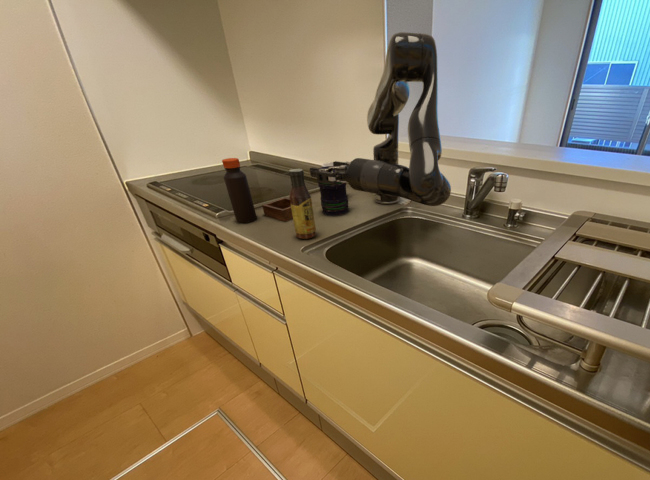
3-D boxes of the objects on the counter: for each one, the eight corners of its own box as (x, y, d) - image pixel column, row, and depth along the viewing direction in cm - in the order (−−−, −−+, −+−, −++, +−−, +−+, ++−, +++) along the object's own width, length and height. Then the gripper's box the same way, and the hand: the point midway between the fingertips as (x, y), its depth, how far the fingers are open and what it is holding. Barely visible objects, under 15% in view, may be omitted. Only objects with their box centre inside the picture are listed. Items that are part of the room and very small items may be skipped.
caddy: (287, 207, 130) (285, 197, 128) (307, 212, 125) (305, 202, 123) (264, 215, 123) (262, 205, 121) (285, 221, 118) (282, 210, 115)
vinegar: (260, 219, 119) (245, 159, 108) (241, 224, 115) (223, 162, 104) (251, 215, 123) (236, 156, 112) (233, 220, 119) (215, 159, 108)
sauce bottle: (311, 240, 104) (300, 173, 93) (293, 239, 105) (279, 172, 94) (320, 232, 109) (310, 167, 98) (302, 231, 110) (290, 167, 99)
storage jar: (348, 215, 122) (344, 172, 113) (320, 216, 121) (314, 173, 113) (349, 206, 130) (345, 165, 122) (323, 207, 129) (318, 166, 121)
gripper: (388, 154, 85) (339, 148, 92) (350, 165, 75) (299, 158, 83) (388, 185, 89) (342, 177, 97) (353, 199, 79) (305, 189, 87)
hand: (322, 168), depth 90 cm, fingers open, 8 cm apart
